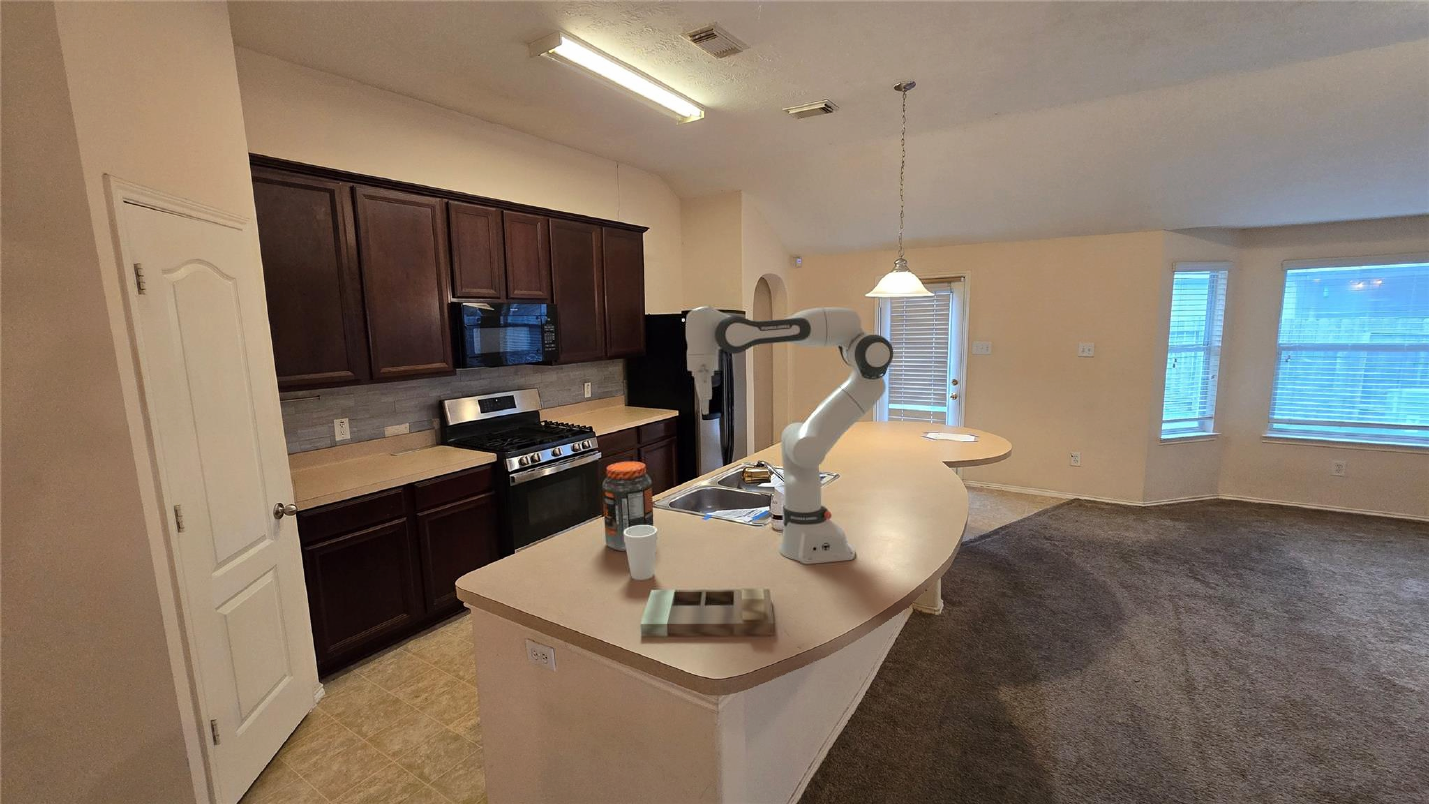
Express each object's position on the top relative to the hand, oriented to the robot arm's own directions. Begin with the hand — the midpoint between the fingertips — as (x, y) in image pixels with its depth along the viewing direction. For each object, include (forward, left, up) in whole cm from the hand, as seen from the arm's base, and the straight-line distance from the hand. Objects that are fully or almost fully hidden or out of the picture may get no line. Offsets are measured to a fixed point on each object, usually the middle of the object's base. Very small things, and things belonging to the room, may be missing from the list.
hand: (704, 411), depth 158 cm
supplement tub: (+26, -12, -45) cm, 53 cm away
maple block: (-12, +38, -42) cm, 58 cm away
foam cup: (+18, +11, -45) cm, 50 cm away
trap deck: (-2, +34, -45) cm, 56 cm away
